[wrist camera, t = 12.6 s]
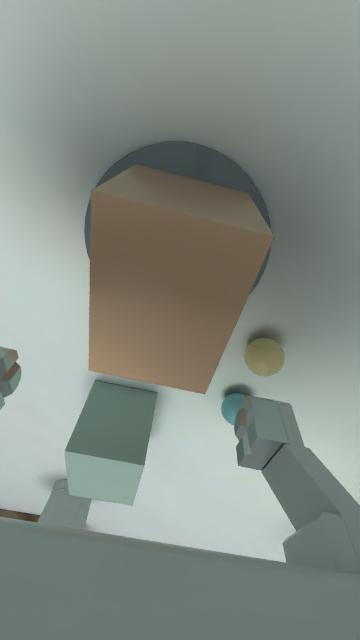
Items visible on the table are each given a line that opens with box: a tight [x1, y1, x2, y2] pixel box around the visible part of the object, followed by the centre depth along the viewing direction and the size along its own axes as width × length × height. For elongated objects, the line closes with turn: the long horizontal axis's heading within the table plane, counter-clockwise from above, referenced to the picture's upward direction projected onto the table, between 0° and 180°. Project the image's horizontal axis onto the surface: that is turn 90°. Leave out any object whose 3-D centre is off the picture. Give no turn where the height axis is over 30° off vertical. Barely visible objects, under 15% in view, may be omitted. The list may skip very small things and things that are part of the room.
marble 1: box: [221, 393, 246, 425], centre depth 25 cm, size 3×3×3 cm
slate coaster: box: [85, 142, 270, 294], centre depth 18 cm, size 12×12×1 cm
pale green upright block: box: [65, 381, 157, 506], centre depth 27 cm, size 6×9×7 cm
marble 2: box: [245, 338, 284, 376], centre depth 21 cm, size 3×3×3 cm
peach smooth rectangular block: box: [89, 164, 274, 394], centre depth 15 cm, size 6×9×7 cm
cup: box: [37, 480, 91, 530], centre depth 39 cm, size 8×8×12 cm
